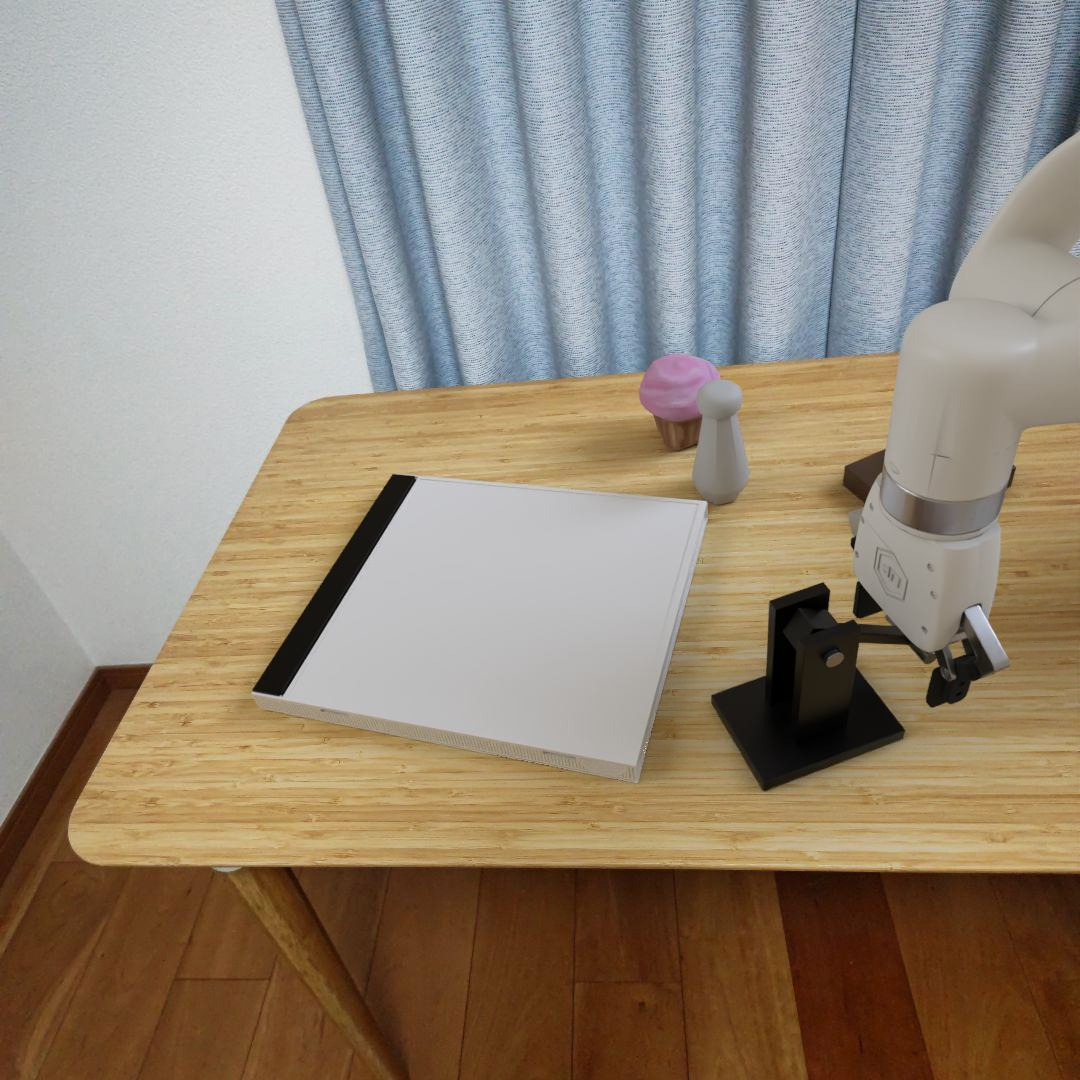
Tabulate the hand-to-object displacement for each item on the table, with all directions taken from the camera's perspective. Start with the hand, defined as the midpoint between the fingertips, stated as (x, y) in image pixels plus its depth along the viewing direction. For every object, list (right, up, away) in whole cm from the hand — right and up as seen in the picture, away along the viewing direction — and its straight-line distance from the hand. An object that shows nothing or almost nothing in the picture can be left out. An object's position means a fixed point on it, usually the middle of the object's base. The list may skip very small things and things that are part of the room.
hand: (906, 653), depth 70 cm
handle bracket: (-8, -6, +2) cm, 10 cm away
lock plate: (+10, +14, +19) cm, 26 cm away
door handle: (-5, +1, -3) cm, 6 cm away
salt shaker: (-10, +14, +23) cm, 29 cm away
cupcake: (-13, +20, +31) cm, 39 cm away
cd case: (-33, +2, +16) cm, 37 cm away
